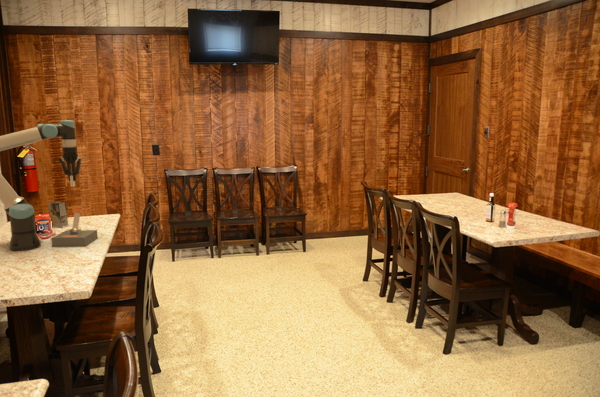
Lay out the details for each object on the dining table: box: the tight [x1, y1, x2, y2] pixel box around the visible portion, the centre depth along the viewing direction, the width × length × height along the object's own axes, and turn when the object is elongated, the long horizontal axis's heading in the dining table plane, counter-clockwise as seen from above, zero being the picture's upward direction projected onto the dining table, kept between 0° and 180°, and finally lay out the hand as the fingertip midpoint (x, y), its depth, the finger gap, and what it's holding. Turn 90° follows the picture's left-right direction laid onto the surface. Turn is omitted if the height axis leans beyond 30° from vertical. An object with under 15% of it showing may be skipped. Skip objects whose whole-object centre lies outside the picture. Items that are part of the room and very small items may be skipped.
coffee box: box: [48, 201, 69, 228], centre depth 312 cm, size 9×6×16 cm
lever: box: [70, 208, 83, 233], centre depth 273 cm, size 4×3×14 cm
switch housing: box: [51, 228, 99, 248], centre depth 271 cm, size 18×18×8 cm
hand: (73, 186), depth 282 cm, fingers closed
